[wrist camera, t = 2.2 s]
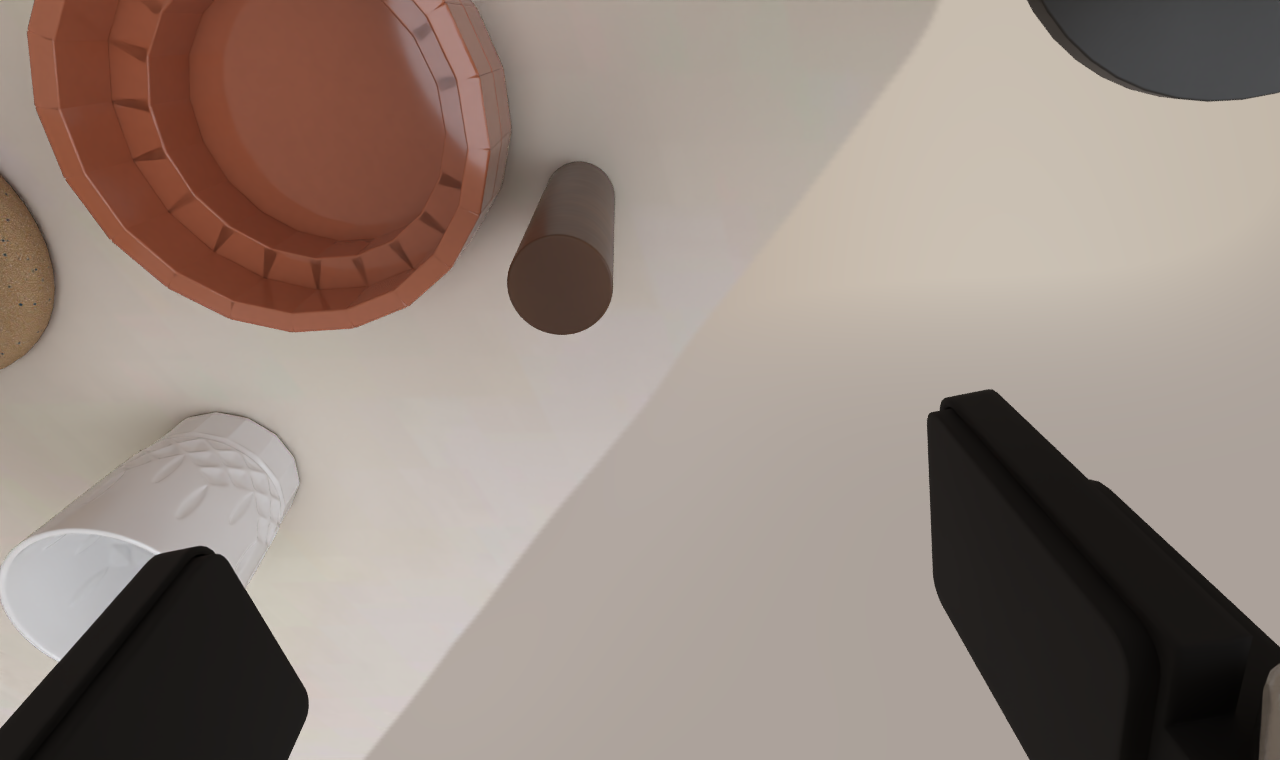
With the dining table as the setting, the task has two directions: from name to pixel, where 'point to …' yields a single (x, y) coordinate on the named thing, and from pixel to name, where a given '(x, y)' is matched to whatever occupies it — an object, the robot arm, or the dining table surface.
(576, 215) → the dark brown cylinder
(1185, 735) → the robot arm
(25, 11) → the dining table surface
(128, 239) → the bowl
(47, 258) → the candle holder
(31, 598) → the white cup
